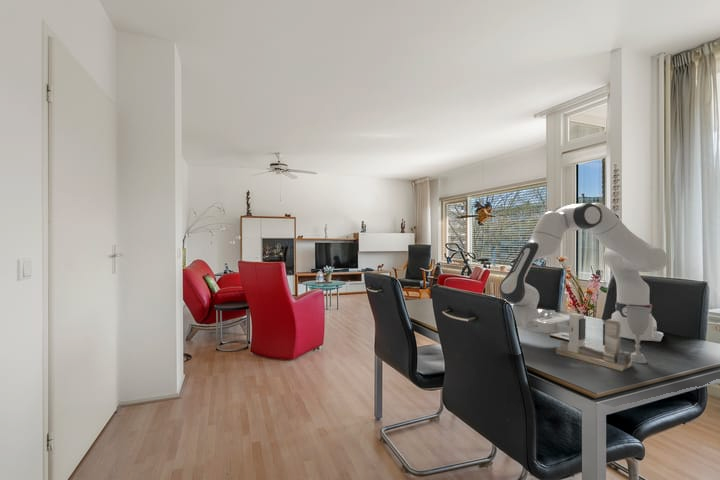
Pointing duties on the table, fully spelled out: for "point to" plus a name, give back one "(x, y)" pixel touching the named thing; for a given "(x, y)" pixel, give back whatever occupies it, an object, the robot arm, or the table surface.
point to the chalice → (638, 328)
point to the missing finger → (576, 332)
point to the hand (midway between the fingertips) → (578, 328)
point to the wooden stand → (612, 349)
